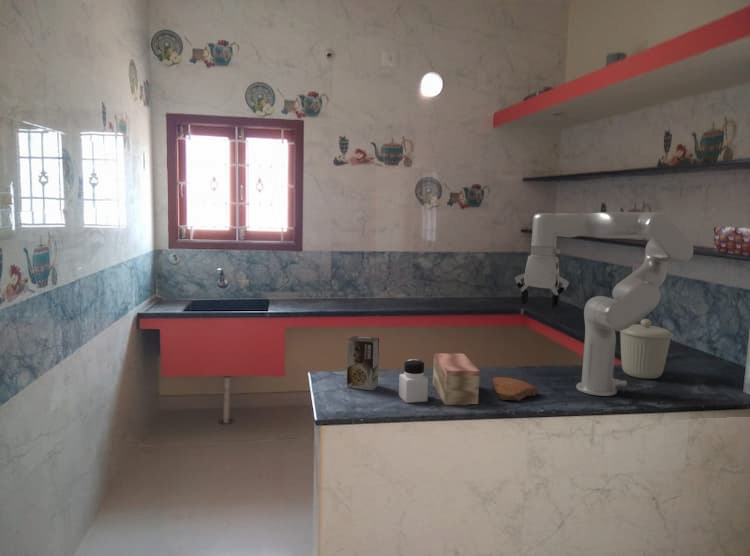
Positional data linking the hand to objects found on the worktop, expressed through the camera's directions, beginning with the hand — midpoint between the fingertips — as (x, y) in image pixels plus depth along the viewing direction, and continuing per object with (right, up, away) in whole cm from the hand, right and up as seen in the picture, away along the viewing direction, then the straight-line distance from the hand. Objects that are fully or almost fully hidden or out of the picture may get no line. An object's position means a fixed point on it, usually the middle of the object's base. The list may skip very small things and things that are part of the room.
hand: (539, 305), depth 184 cm
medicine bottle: (-41, -29, -7) cm, 51 cm away
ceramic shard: (-10, -29, +1) cm, 31 cm away
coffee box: (-57, -27, +4) cm, 63 cm away
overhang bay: (-28, -28, -1) cm, 39 cm away
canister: (+46, -27, +28) cm, 60 cm away
